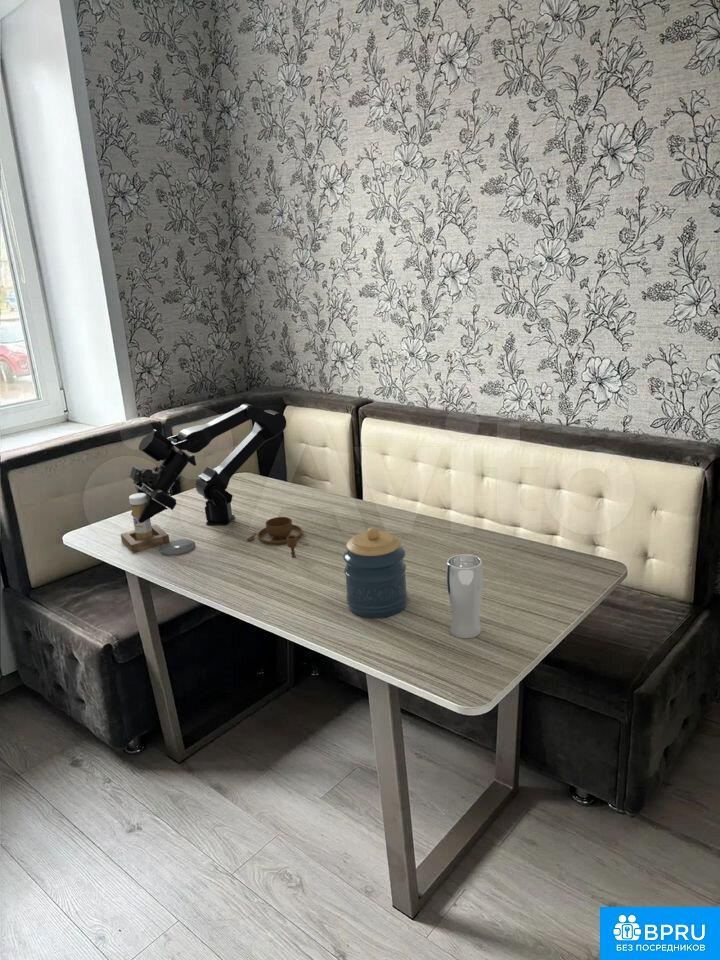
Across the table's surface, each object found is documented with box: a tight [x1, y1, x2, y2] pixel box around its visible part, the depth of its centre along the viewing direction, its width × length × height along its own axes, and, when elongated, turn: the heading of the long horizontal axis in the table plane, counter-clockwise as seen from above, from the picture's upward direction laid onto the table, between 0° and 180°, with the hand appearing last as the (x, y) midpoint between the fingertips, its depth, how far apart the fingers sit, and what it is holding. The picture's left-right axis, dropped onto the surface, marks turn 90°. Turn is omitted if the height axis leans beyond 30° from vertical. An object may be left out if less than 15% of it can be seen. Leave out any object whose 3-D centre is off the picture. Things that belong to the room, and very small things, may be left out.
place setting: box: [246, 516, 307, 559], centre depth 192 cm, size 18×20×6 cm
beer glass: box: [446, 553, 484, 639], centre depth 142 cm, size 7×7×15 cm
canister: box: [342, 526, 408, 619], centre depth 154 cm, size 13×13×18 cm
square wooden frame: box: [120, 524, 170, 554], centre depth 198 cm, size 10×10×2 cm
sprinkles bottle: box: [128, 492, 154, 541], centre depth 197 cm, size 5×5×14 cm
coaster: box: [159, 538, 196, 556], centre depth 193 cm, size 9×9×1 cm
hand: (136, 518), depth 196 cm, fingers open, 6 cm apart
